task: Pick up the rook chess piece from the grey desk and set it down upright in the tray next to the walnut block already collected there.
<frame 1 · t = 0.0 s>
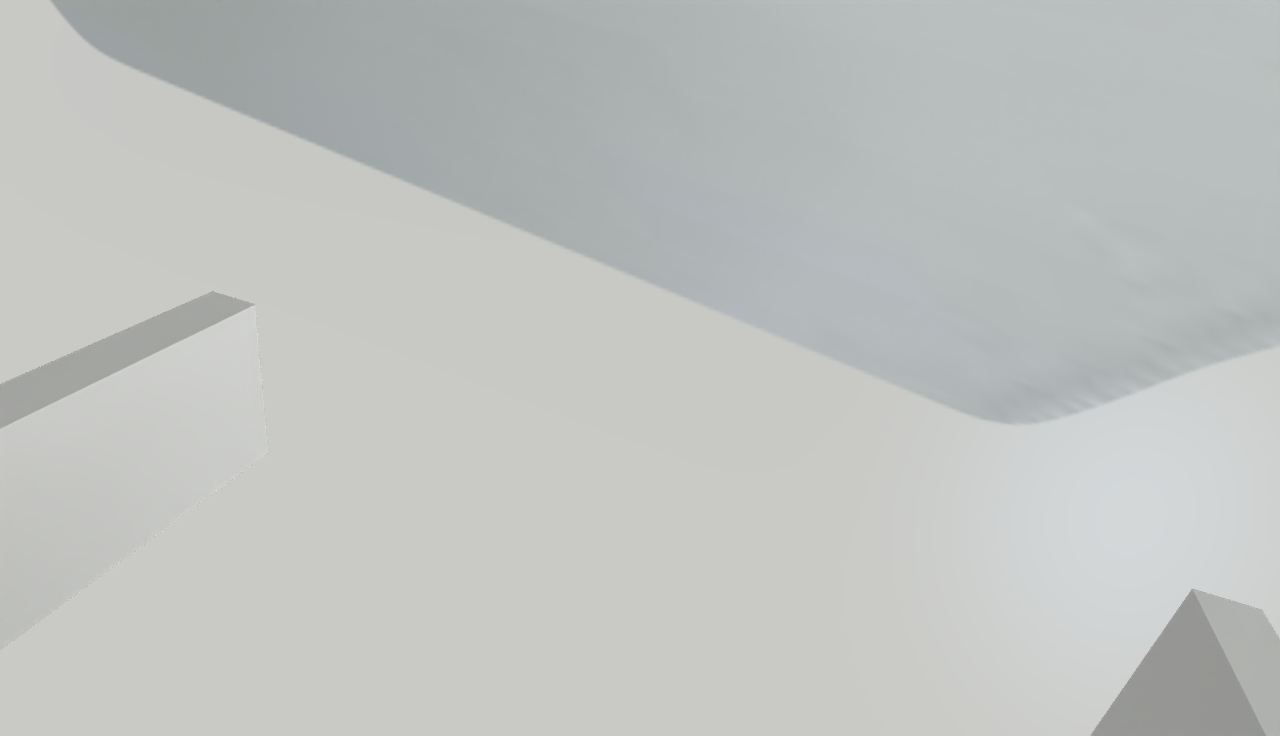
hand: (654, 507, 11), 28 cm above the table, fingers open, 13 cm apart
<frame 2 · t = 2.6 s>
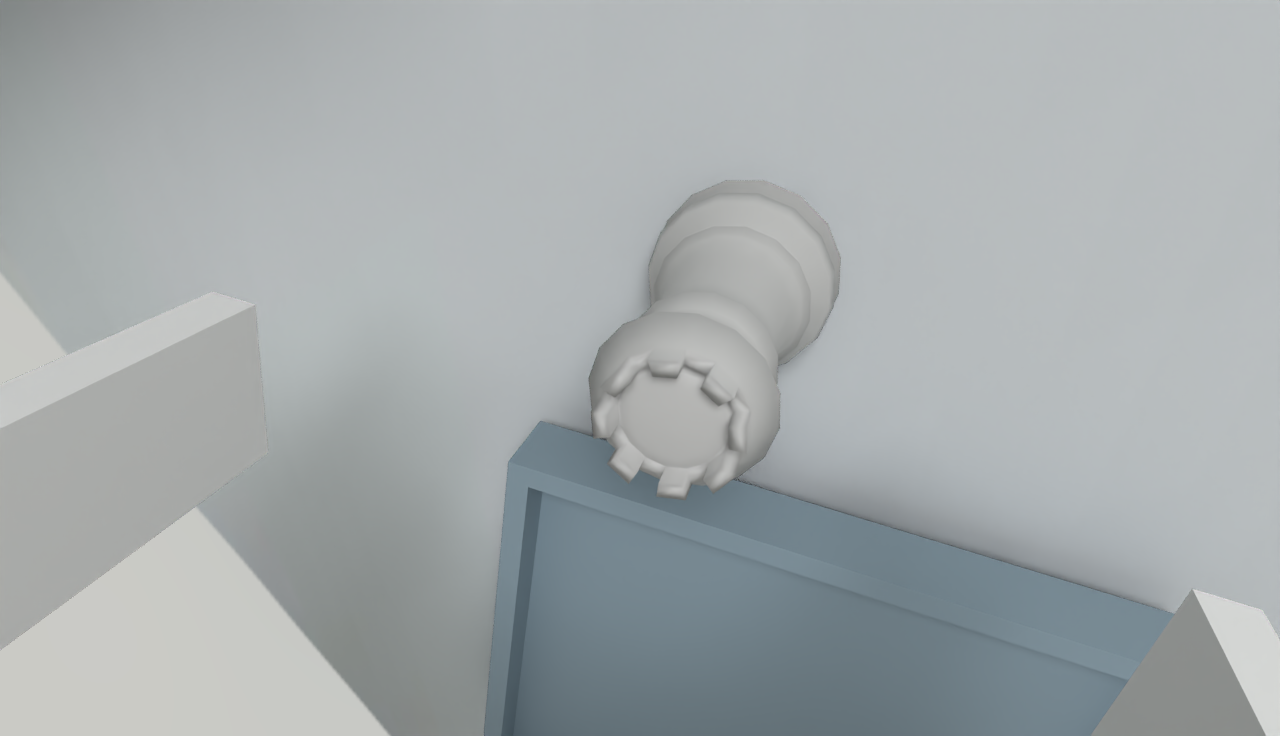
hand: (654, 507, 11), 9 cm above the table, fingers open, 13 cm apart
rook chess piece: (749, 263, 19), on the table
tray: (782, 664, 24), on the table
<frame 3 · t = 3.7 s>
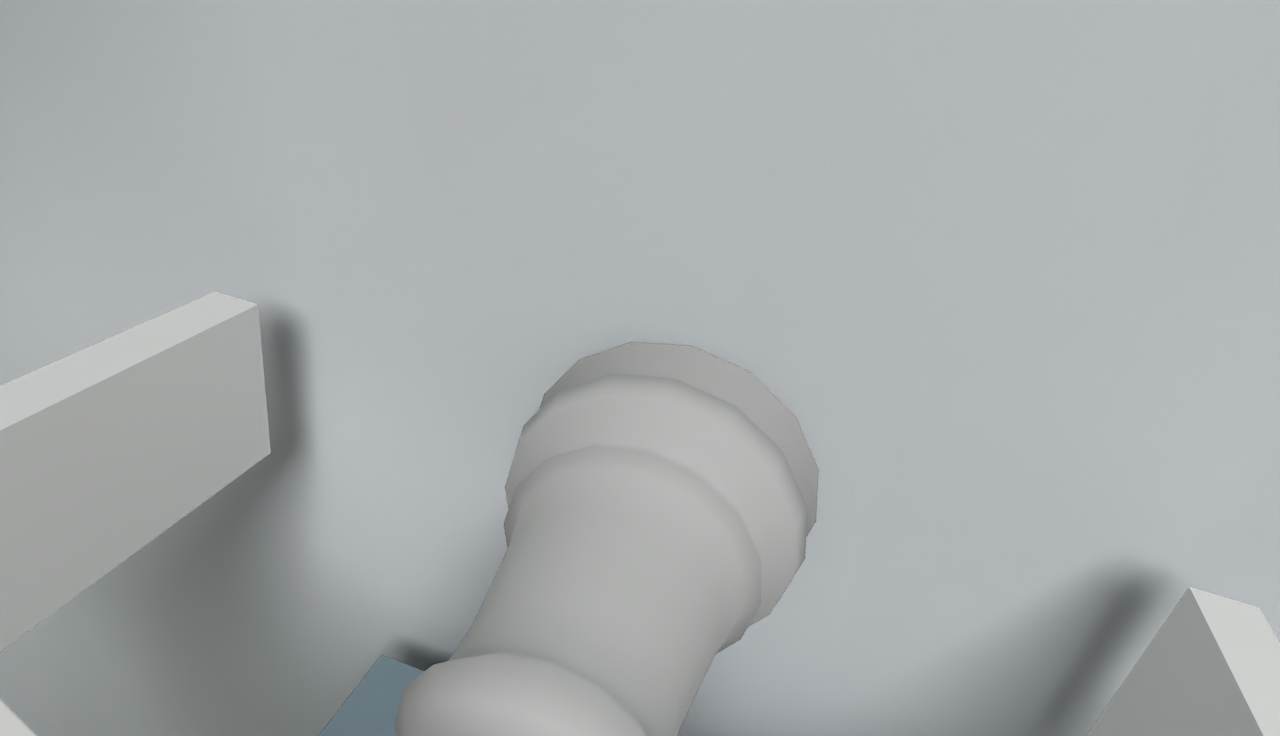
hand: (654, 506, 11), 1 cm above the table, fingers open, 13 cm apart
rook chess piece: (678, 454, 12), on the table
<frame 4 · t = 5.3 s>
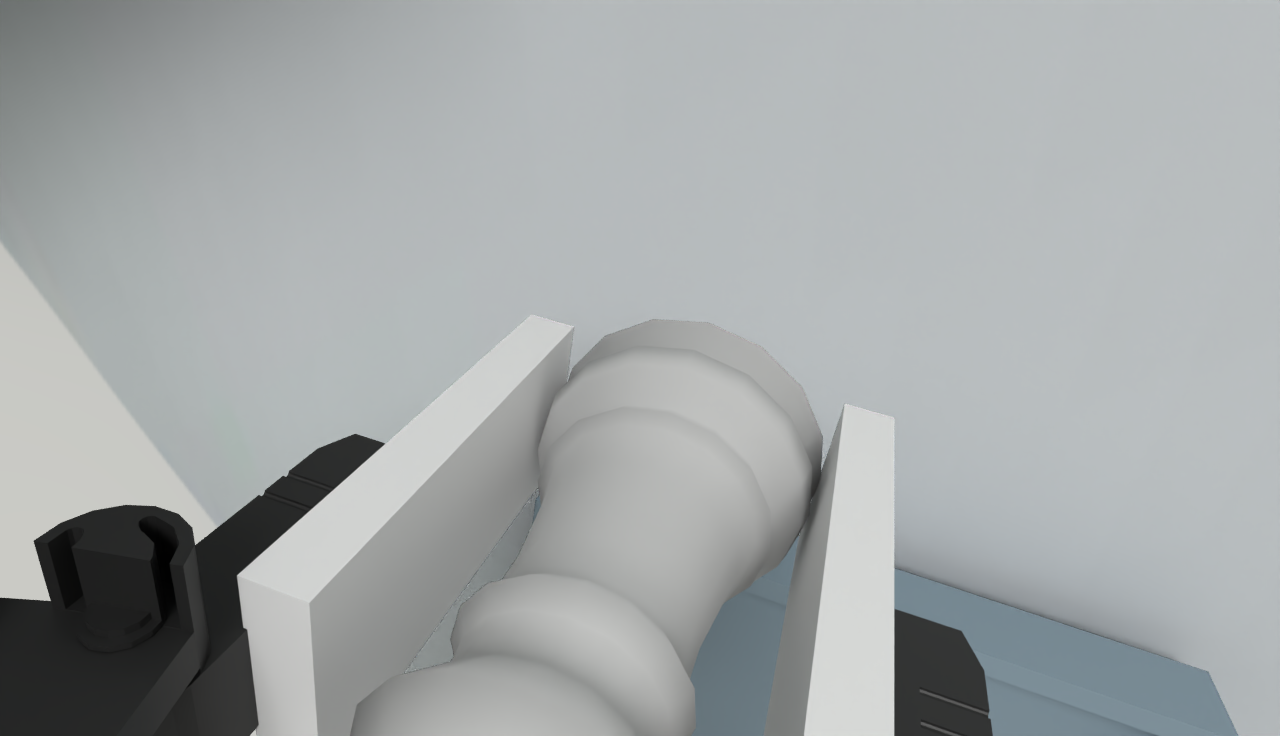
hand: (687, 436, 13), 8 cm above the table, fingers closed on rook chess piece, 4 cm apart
rook chess piece: (694, 425, 13), point 7 cm above the table, touching gripper
tray: (796, 705, 24), on the table
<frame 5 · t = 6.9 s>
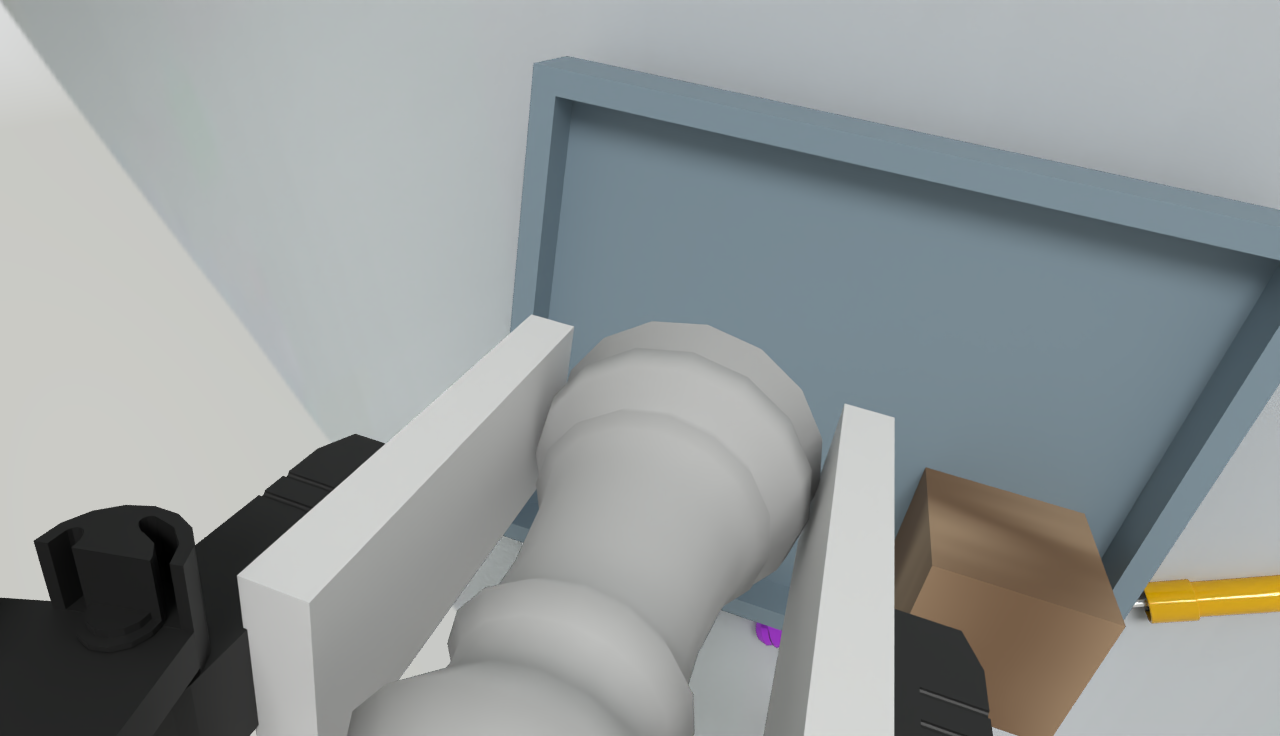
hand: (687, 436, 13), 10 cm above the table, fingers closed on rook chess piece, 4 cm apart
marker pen: (1002, 574, 24), on the table
rook chess piece: (693, 427, 13), point 9 cm above the table, touching gripper
walnut block: (975, 547, 21), point 2 cm above the table, touching tray
tray: (828, 372, 22), on the table
when the fingers open (3 cm above the table, at t = 8.6 s): rook chess piece stays where it is, resting on tray.
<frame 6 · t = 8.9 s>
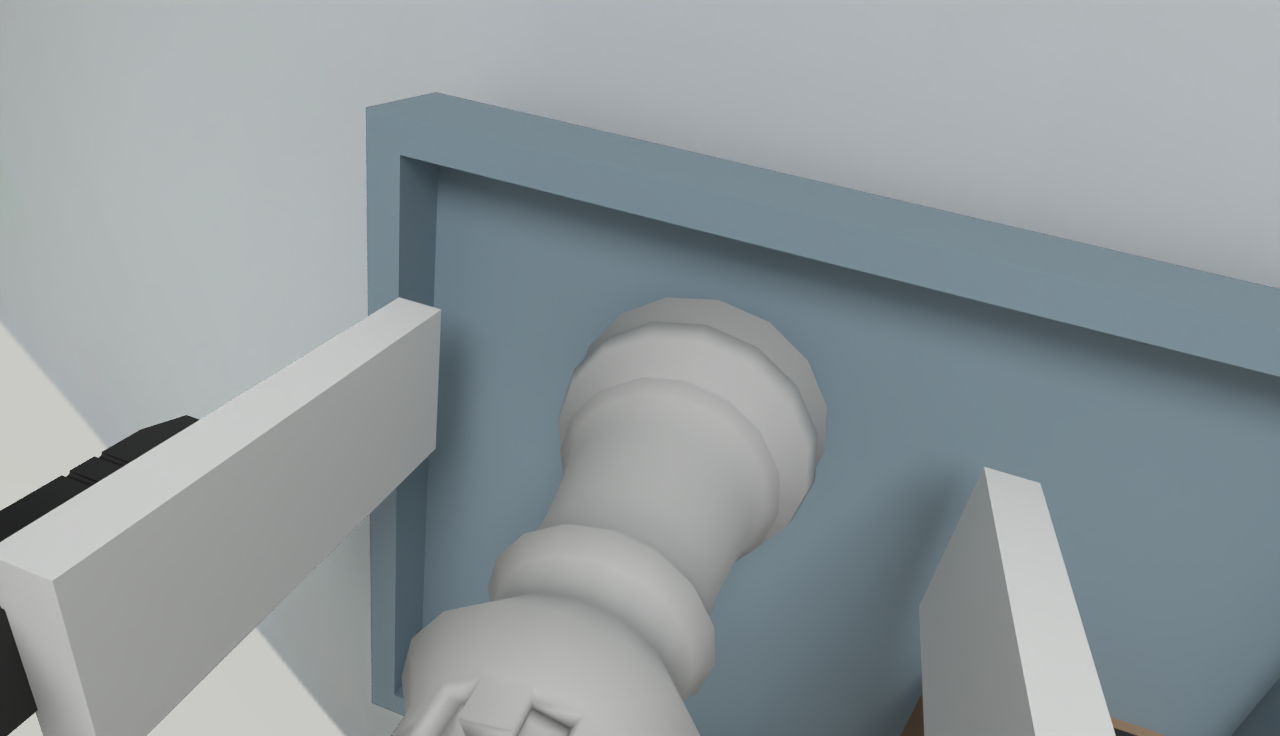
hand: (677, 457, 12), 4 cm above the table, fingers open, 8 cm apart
rook chess piece: (704, 399, 14), point 2 cm above the table, touching tray
tray: (807, 511, 16), on the table
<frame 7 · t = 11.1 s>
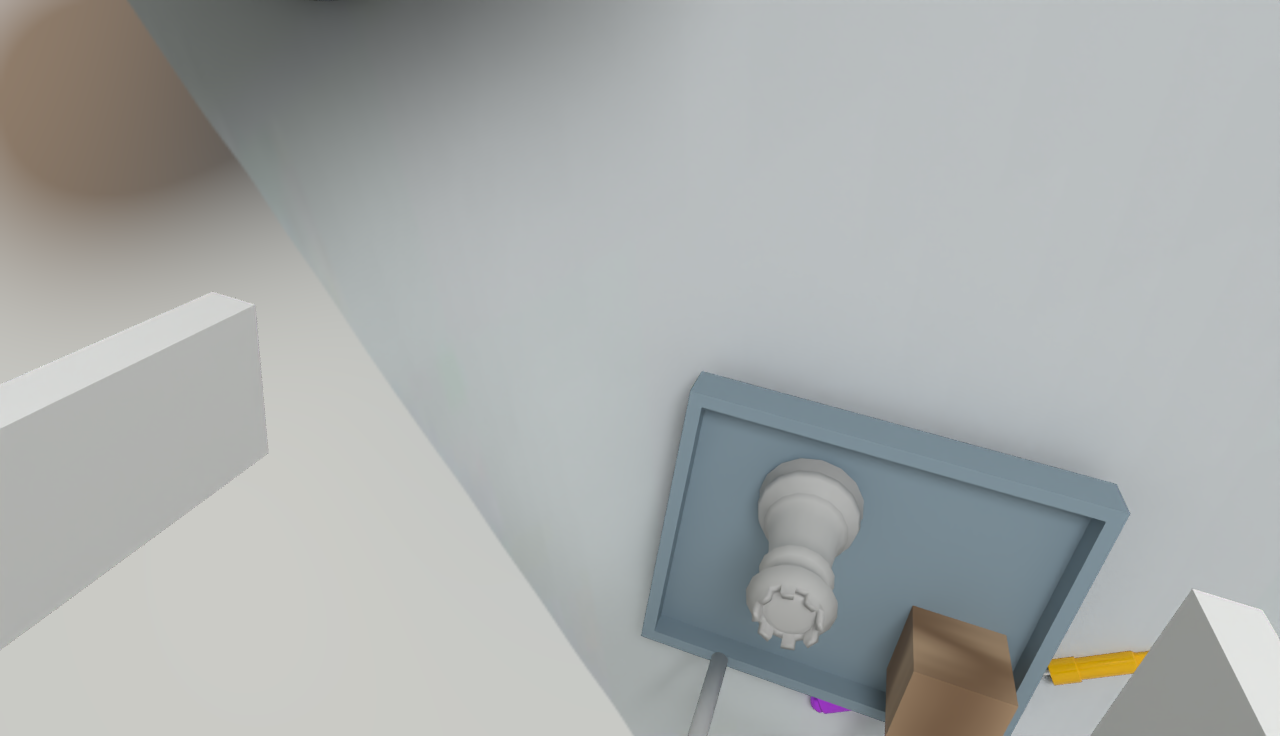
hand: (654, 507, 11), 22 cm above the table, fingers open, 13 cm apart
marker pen: (964, 657, 37), on the table
rook chess piece: (812, 494, 34), point 2 cm above the table, touching tray
walnut block: (944, 652, 34), point 2 cm above the table, touching tray
tray: (853, 541, 36), on the table
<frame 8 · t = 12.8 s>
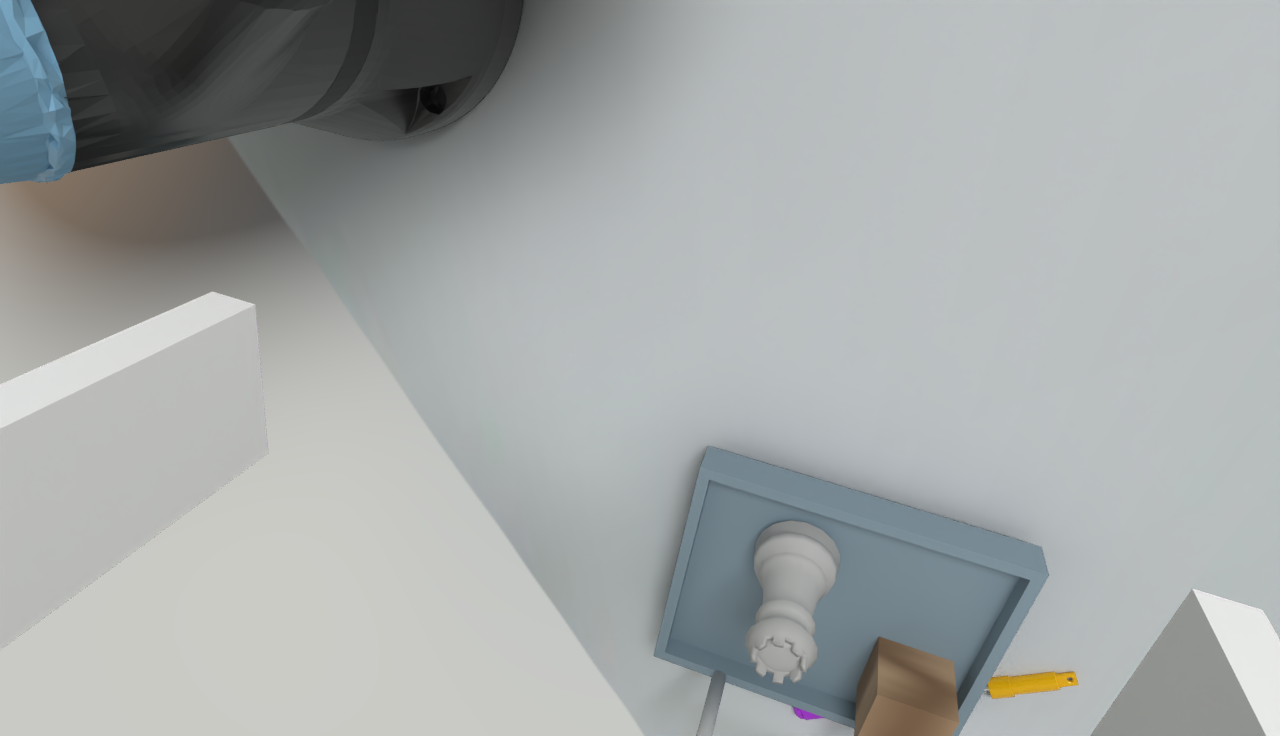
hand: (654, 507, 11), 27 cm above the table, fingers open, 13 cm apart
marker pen: (920, 674, 45), on the table
rook chess piece: (798, 547, 41), point 2 cm above the table, touching tray
walnut block: (903, 673, 42), point 2 cm above the table, touching tray
tray: (831, 581, 43), on the table
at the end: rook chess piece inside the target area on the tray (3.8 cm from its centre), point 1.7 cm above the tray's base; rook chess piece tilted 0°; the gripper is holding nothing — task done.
